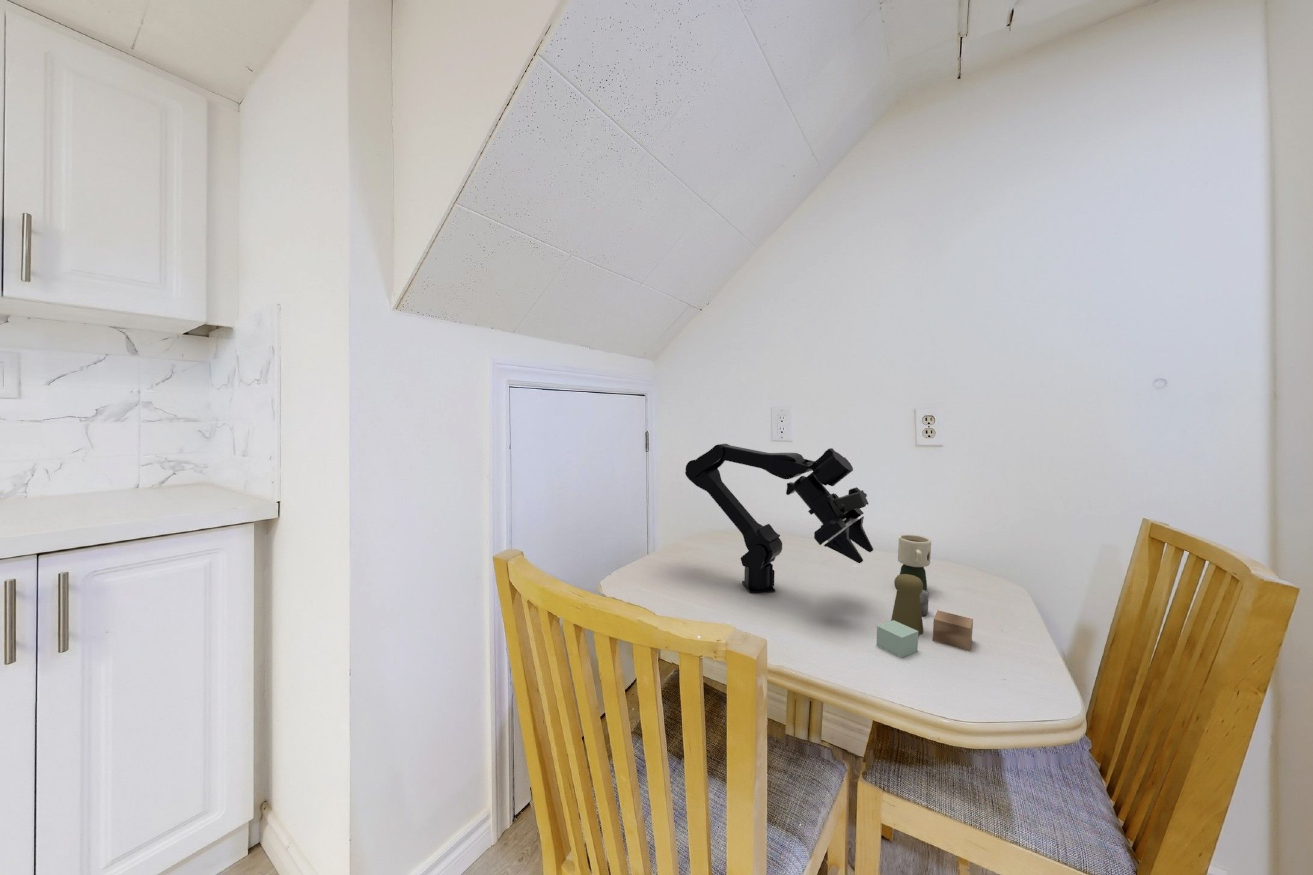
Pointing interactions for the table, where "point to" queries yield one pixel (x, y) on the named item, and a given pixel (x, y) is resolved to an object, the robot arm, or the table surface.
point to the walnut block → (952, 630)
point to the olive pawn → (908, 602)
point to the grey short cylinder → (924, 602)
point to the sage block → (897, 638)
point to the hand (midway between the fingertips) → (866, 556)
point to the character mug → (914, 556)
